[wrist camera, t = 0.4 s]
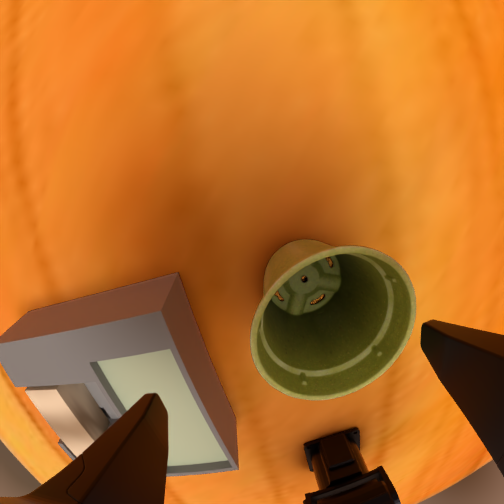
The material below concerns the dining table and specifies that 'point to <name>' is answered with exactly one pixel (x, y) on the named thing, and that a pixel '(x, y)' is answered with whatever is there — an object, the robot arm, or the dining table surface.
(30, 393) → the maple block
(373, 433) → the dining table surface
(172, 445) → the jig board
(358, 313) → the plant pot
